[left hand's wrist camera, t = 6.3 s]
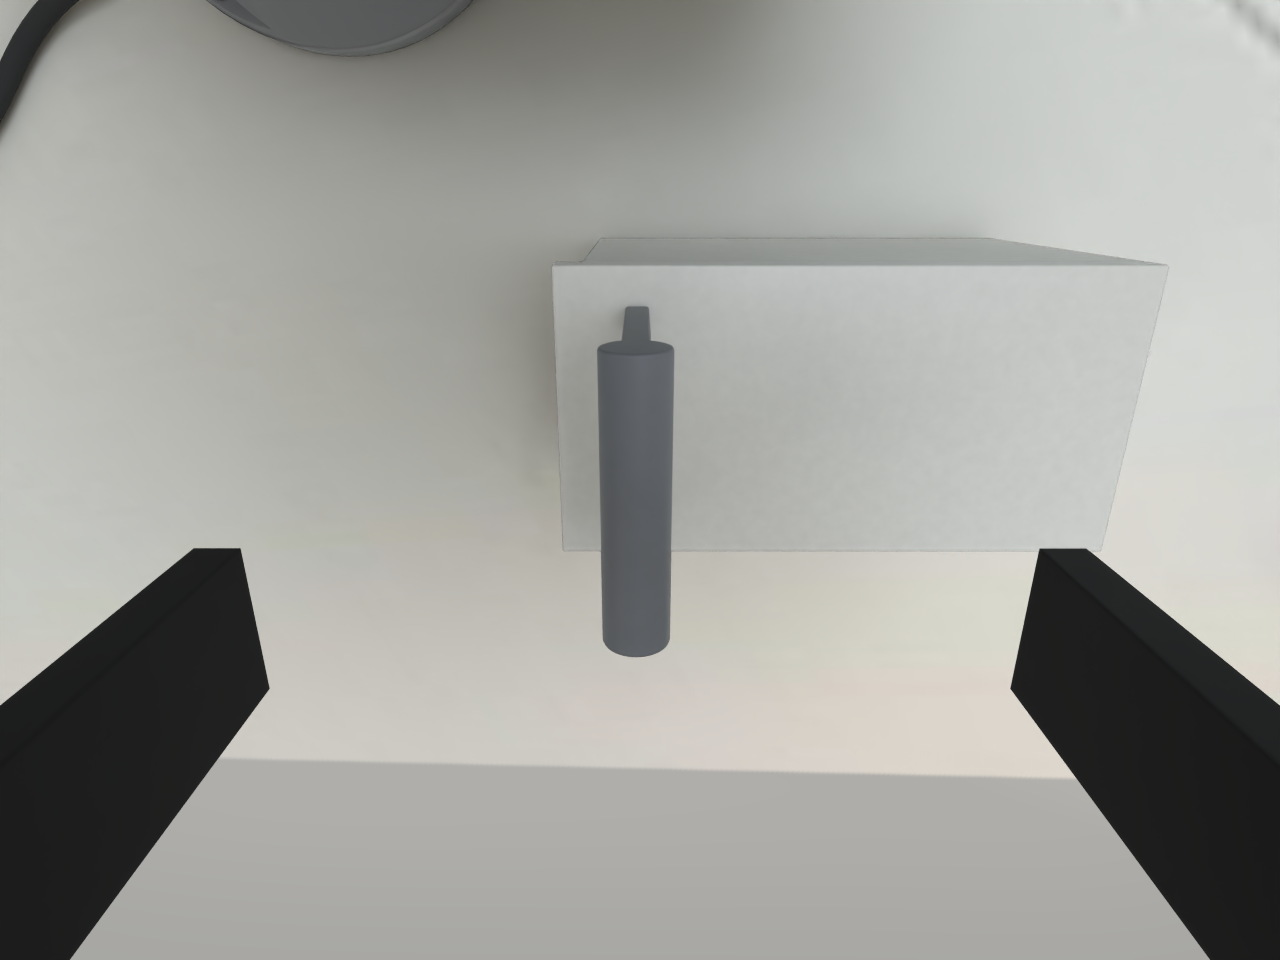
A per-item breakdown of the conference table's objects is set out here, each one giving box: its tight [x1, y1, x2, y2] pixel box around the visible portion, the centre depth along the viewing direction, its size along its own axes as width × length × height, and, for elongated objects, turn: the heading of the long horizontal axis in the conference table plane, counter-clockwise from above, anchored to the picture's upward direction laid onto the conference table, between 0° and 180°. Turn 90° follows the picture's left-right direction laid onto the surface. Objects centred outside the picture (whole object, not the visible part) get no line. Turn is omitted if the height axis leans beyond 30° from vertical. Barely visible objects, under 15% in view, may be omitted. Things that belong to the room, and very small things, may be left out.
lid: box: [551, 262, 1169, 657], centre depth 21 cm, size 18×9×9 cm, turn 90°
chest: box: [583, 238, 1144, 262], centre depth 30 cm, size 17×9×11 cm, turn 90°
